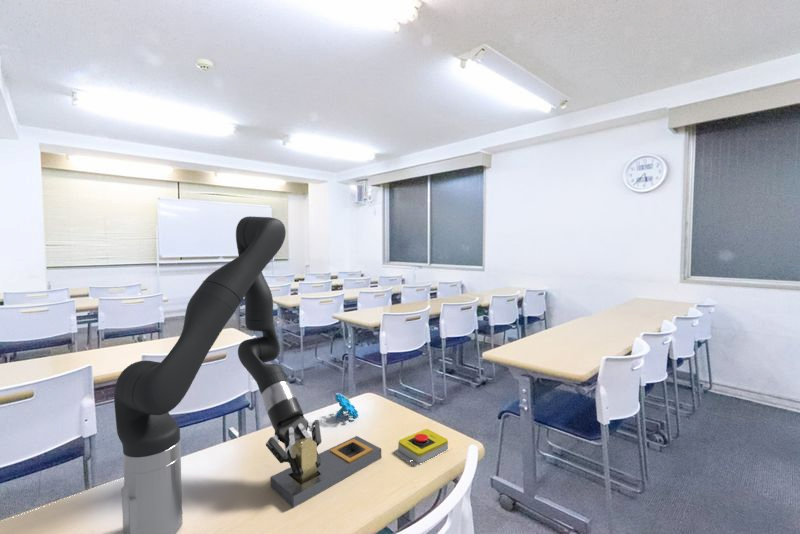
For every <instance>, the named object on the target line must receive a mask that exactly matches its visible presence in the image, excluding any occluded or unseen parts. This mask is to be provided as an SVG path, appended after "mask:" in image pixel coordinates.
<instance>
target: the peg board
mask: <svg viewBox="0 0 800 534" xmlns="http://www.w3.org/2000/svg"><path fill="white" fill-rule="evenodd" d="M352 453H353V454H355V455H353V456H352V457H349V456H348V455H350V454H352ZM318 454H319V456H320V459H321V463H320V466H319V467H318V468H317V477H315V478H313V479H311V480H309V481H308V482H306V483H304V484H302V485H301V484H299V483H298V482H297V481H295V480H294V479H293V471H292V469H291V466H290V467H288V468H287V469H283V470H282V471H280V472H278V473H276V474H273V475H271V476H270V488H271V489H272V490H273V491H274V492H275V493H276V494H278V496H280V497H281V498H282V499H283V500H284V501H285V502H287V503H288V504H289V505H290V506H291V507H292V508H297V506H299V505H301V504H302V503H304V502H306V501H308V500H309V499H312V498H313V497H316V496H317V495H319V494H320V493H322V492H324V491H326V490H327V489H330V488H331V487H333V486H335V485H336V484H339V483H340V482H341V481H343V480H345V479H347V478H348V477H350V476H352V475H354V474H356V473H358V472H359V471H361V470H362V469H364V468H366V467H368V466H369V465H371V464H373V463H375V462H377V461H379V460H381V459H382V448H381V447H379V446H378V445H375V444H374V443H371V442H369V441H367V440H366V439H365V438H364V439H363V438H362V437H360V436H357V435H355V436H354V437H352V438H349V439H348V440H345V441H343V442H340V443H338V444H337V445H335V446H333V447H330V448H328V449H326V450H324V451H322V452H319V453H318Z"/></svg>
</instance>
